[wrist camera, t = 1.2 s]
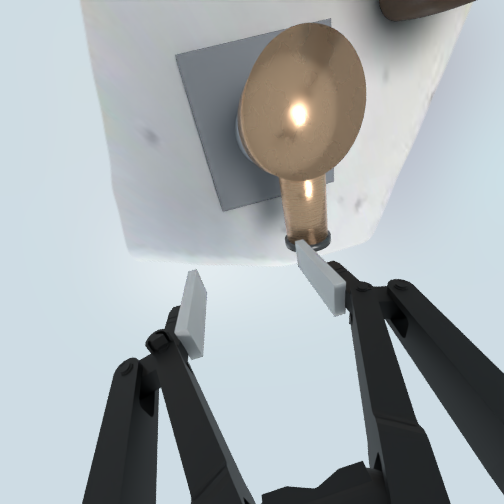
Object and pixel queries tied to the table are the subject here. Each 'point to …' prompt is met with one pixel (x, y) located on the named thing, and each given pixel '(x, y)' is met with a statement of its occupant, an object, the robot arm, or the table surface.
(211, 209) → the table surface
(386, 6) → the plant pot
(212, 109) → the duct stub
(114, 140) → the table surface
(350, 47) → the copper flat bottle shape
